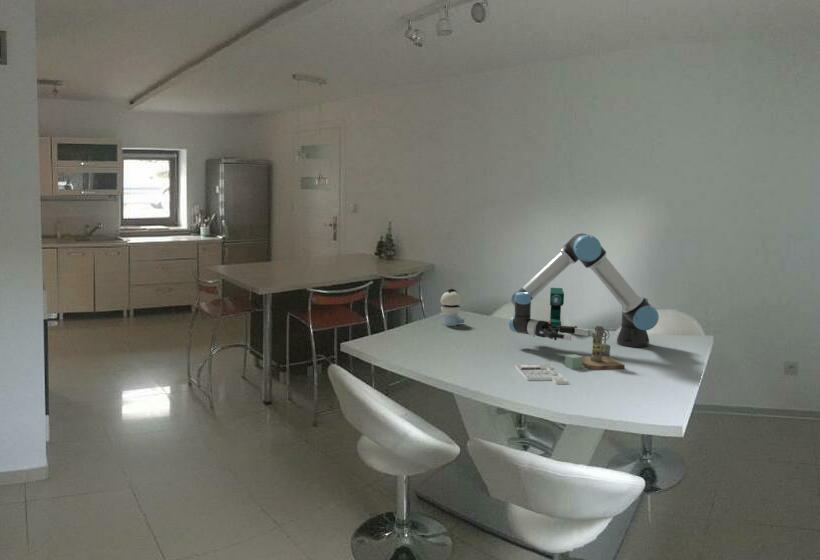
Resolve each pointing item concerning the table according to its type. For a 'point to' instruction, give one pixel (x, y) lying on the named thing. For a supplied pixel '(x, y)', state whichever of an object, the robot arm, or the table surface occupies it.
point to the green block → (573, 361)
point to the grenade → (598, 343)
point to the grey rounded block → (607, 350)
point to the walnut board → (601, 363)
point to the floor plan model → (542, 366)
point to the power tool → (556, 305)
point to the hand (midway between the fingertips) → (579, 335)
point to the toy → (451, 308)
